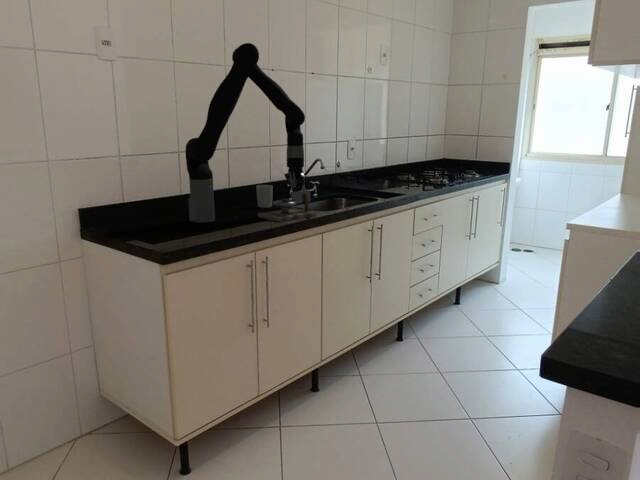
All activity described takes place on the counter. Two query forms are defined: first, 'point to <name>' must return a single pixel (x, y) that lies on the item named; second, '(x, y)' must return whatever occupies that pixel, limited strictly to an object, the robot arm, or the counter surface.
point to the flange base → (288, 213)
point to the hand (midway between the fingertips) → (295, 195)
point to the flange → (293, 199)
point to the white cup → (264, 195)
